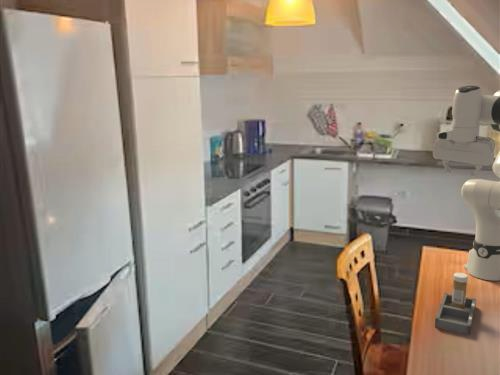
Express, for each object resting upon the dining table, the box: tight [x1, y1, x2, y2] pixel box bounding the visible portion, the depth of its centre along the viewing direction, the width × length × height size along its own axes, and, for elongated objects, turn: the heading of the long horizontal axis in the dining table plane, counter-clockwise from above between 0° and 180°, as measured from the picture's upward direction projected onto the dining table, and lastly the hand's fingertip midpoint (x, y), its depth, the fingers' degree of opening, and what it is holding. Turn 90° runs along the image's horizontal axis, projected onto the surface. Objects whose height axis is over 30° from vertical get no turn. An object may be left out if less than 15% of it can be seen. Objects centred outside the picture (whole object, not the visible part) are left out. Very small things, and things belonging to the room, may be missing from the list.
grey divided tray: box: [434, 292, 477, 336], centre depth 162 cm, size 20×10×4 cm, turn 150°
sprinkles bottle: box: [451, 272, 469, 309], centre depth 165 cm, size 5×5×14 cm
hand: (460, 174), depth 163 cm, fingers open, 8 cm apart
